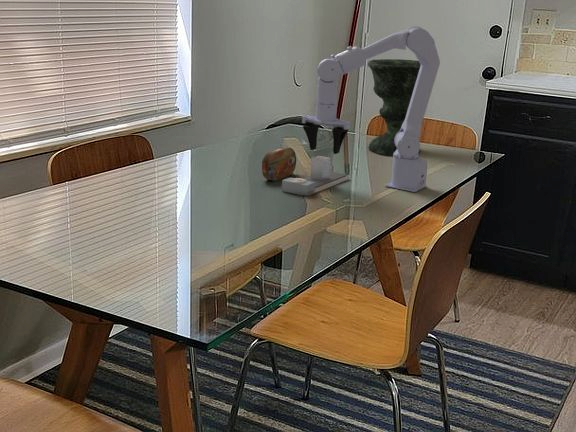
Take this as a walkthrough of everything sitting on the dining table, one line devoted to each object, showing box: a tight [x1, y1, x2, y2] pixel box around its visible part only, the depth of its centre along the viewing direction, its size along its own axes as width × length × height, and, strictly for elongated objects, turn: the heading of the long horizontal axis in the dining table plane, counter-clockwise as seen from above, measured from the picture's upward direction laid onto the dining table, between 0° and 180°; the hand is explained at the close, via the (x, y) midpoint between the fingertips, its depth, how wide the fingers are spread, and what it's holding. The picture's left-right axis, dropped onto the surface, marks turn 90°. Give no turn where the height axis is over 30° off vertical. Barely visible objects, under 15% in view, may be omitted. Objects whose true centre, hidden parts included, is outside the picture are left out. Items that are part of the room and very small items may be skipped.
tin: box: [261, 147, 297, 182], centre depth 217 cm, size 15×3×8 cm, turn 147°
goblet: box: [367, 58, 421, 157], centre depth 253 cm, size 22×23×30 cm
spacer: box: [310, 155, 332, 181], centre depth 212 cm, size 4×4×6 cm
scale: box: [281, 170, 350, 197], centre depth 211 cm, size 8×23×4 cm, turn 146°
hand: (324, 151), depth 211 cm, fingers open, 7 cm apart
